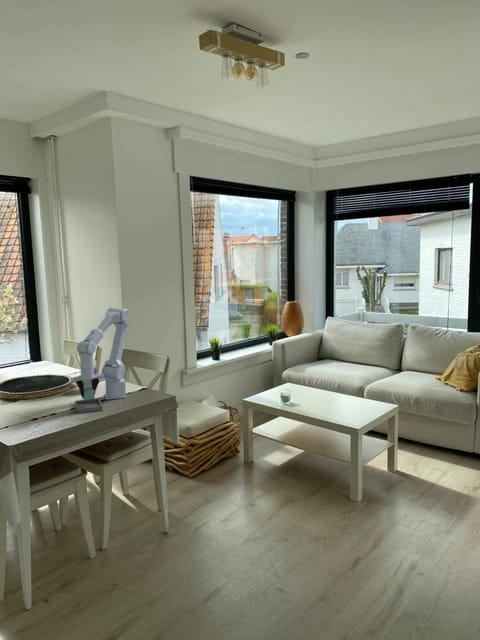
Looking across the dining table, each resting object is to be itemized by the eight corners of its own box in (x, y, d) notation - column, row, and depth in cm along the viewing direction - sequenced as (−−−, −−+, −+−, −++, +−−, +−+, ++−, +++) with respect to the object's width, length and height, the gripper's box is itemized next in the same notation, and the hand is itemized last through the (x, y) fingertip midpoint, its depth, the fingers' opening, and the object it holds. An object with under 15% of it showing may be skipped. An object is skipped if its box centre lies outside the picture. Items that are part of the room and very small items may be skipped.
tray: (99, 402, 232) (99, 398, 232) (102, 410, 222) (102, 406, 222) (74, 404, 228) (74, 400, 227) (76, 413, 218) (76, 409, 217)
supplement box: (92, 392, 246) (91, 370, 244) (81, 391, 247) (80, 369, 245) (97, 388, 251) (96, 367, 249) (87, 387, 252) (86, 366, 250)
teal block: (91, 396, 227) (91, 386, 226) (94, 398, 223) (94, 389, 223) (81, 397, 225) (81, 388, 224) (84, 400, 221) (84, 391, 220)
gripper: (99, 362, 229) (100, 390, 231) (68, 366, 220) (69, 395, 223) (104, 366, 223) (105, 394, 225) (72, 370, 215) (73, 400, 217)
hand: (88, 395), depth 224 cm, fingers closed on teal block, 4 cm apart
